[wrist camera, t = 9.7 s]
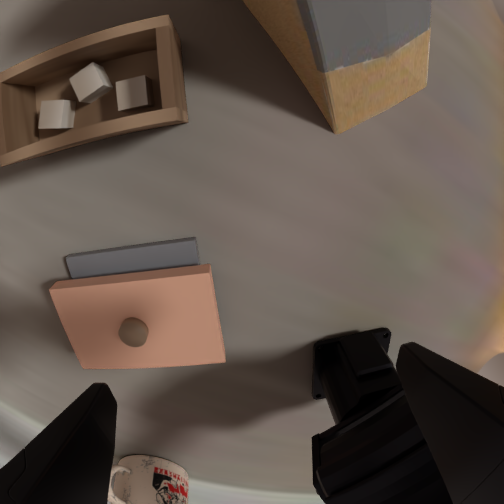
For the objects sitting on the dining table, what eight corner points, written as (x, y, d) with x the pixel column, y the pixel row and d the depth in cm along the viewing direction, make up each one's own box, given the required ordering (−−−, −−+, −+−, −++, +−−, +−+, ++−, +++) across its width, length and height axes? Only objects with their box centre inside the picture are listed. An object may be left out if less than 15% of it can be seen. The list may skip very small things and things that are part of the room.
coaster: (217, 351, 23) (217, 356, 22) (107, 358, 22) (105, 363, 22) (195, 236, 19) (194, 240, 19) (69, 254, 19) (65, 258, 18)
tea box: (180, 39, 15) (168, 14, 10) (188, 122, 17) (177, 120, 12) (33, 82, 14) (-7, 76, 10) (41, 156, 16) (1, 166, 12)
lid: (210, 258, 19) (209, 278, 17) (224, 343, 22) (225, 369, 19) (61, 276, 19) (44, 295, 16) (90, 352, 21) (80, 375, 19)
